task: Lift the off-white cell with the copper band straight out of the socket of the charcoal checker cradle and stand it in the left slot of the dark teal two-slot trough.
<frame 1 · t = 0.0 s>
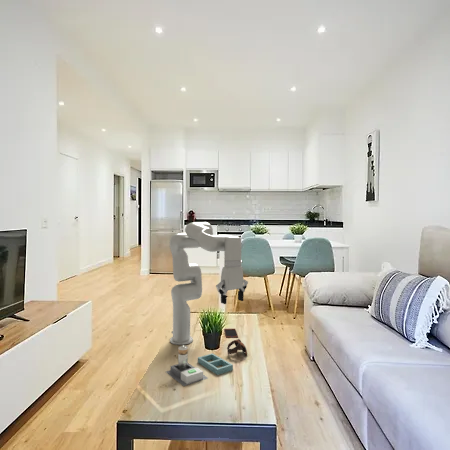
hand: (232, 301, 157), 31 cm above the table, fingers open, 9 cm apart
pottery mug: (237, 354, 177), on the table
test cell: (182, 372, 153), point 1 cm above the table, touching checker cradle
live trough: (214, 368, 160), on the table
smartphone: (230, 334, 207), on the table
checker cradle: (186, 377, 151), on the table
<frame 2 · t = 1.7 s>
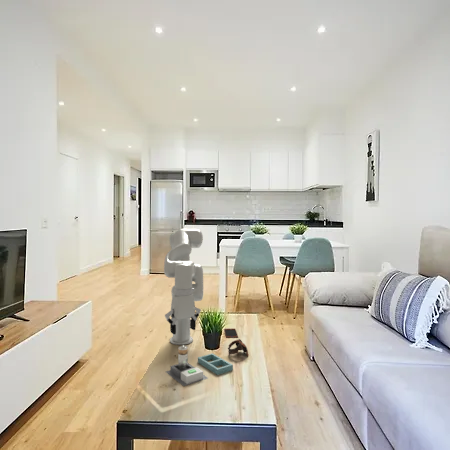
hand: (183, 331, 152), 19 cm above the table, fingers open, 9 cm apart
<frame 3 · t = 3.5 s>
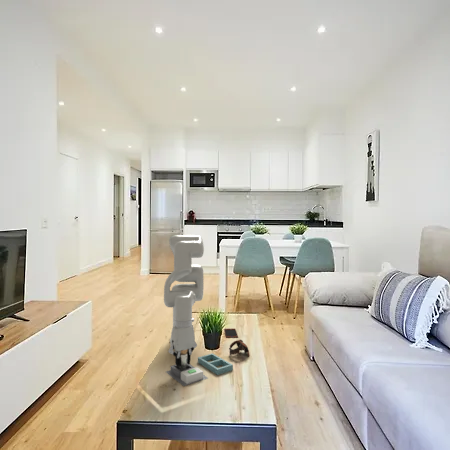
hand: (182, 364, 153), 5 cm above the table, fingers closed on test cell, 4 cm apart
test cell: (182, 372, 153), point 1 cm above the table, touching checker cradle, gripper
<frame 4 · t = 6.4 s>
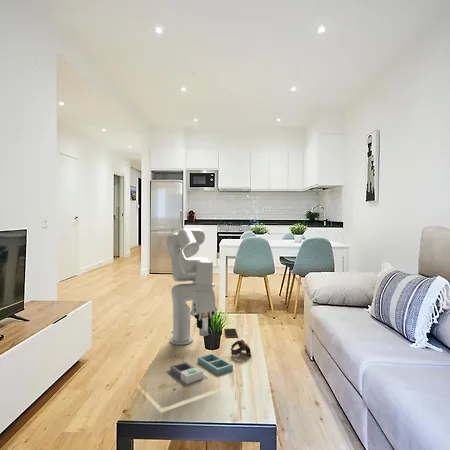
hand: (203, 326, 160), 19 cm above the table, fingers closed on test cell, 4 cm apart
test cell: (203, 334, 160), point 15 cm above the table, touching gripper
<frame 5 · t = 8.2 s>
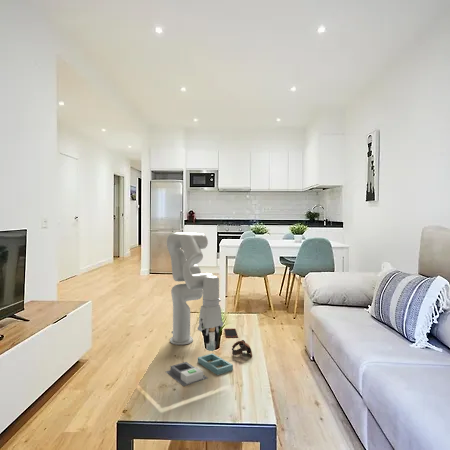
hand: (210, 341, 162), 11 cm above the table, fingers closed on test cell, 4 cm apart
test cell: (210, 349, 162), point 8 cm above the table, touching gripper
when the fingers open (7 cm above the table, at t = 9.4 s): test cell drops 2 cm, resting on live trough.
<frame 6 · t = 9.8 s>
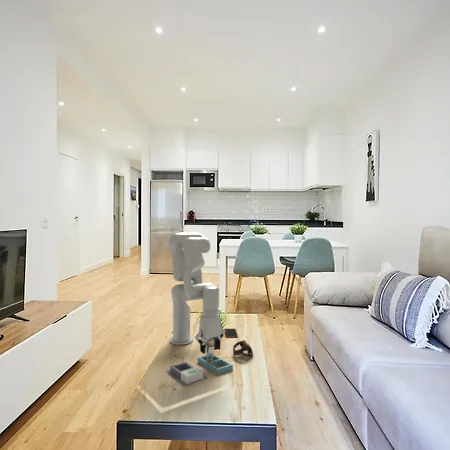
hand: (210, 350, 163), 7 cm above the table, fingers open, 7 cm apart
test cell: (209, 363, 163), point 1 cm above the table, touching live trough
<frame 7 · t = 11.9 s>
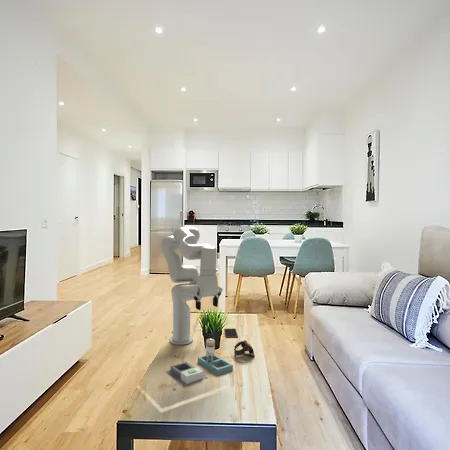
hand: (206, 307, 168), 26 cm above the table, fingers open, 9 cm apart
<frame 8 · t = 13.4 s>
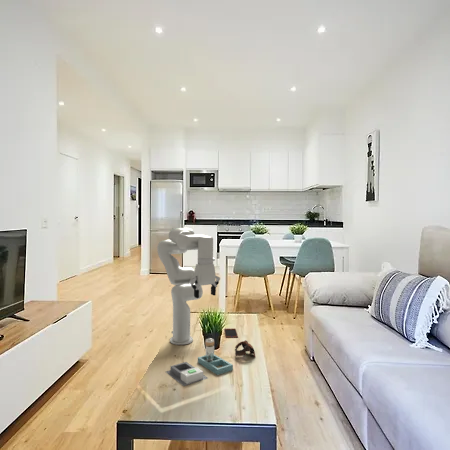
hand: (205, 296, 171), 30 cm above the table, fingers open, 9 cm apart
at the end: test cell 0.2 cm from the target spot on the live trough, point 1.0 cm above the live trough's base; test cell tilted 1°; the gripper is holding nothing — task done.
